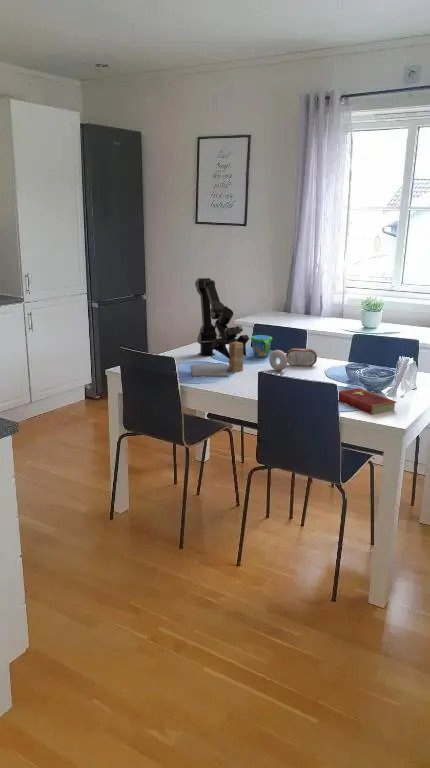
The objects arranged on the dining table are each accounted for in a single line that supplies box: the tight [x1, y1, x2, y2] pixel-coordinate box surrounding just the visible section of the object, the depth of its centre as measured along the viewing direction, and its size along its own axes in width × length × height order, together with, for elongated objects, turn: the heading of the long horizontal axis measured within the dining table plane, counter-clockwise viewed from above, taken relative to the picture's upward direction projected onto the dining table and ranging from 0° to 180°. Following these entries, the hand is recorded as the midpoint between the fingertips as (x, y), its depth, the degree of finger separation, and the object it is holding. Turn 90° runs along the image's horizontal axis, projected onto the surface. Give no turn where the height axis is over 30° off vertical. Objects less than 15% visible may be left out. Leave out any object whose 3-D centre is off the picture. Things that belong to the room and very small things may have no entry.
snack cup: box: [250, 334, 273, 358], centre depth 315 cm, size 16×10×10 cm
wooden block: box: [228, 342, 244, 373], centre depth 287 cm, size 5×4×13 cm
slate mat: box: [191, 363, 229, 378], centre depth 286 cm, size 20×16×1 cm
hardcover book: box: [338, 387, 397, 416], centre depth 239 cm, size 12×21×4 cm, turn 29°
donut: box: [268, 349, 288, 372], centre depth 287 cm, size 10×4×10 cm, turn 46°
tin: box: [285, 347, 318, 367], centre depth 297 cm, size 15×3×8 cm, turn 84°
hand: (237, 356), depth 286 cm, fingers open, 9 cm apart
